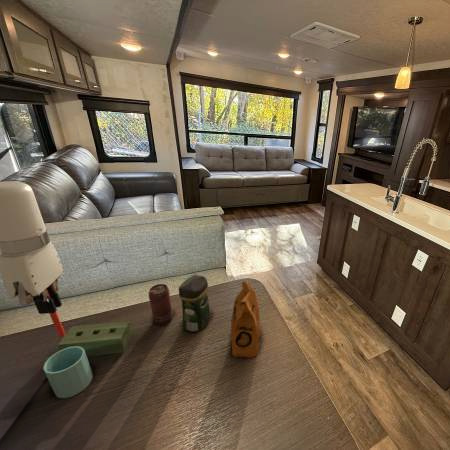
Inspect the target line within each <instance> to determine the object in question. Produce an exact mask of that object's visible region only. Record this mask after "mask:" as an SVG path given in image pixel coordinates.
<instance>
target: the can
mask: <svg viewBox="0 0 450 450" xmlns="http://www.w3.org/2000/svg"><path fill="white" fill-rule="evenodd" d="M169 288H170V287H169V286H168V285H167V284H164V283H158V284H155V285H153V286H151V287H150V289H149V292H148V299H149V303H150V308H151V314H152V318H153V323H154V324H155V325H157V326H165V325H168V324H169V323H170V322H171V321H172V319H173V318H174V314H173V307H172V301H171V296H170V295H171V294H170V293H171V292H170V289H169Z"/></svg>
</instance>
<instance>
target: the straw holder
mask: <svg viewBox="0 0 450 450" xmlns="http://www.w3.org/2000/svg"><path fill="white" fill-rule="evenodd" d="M131 326H132V325H131V322H130V320H127V321H117V322H116V321H115V322H105V323H95V324H83V325H74V326H73V325H72V326H71V327H70V328H69V330H68V331H67V333H65V336H63V337H62V339H61V340H60V341H59V342H58V343H57V347H58V349H59V351H60V350H62V349H65V348H68V347H74V346H78V347H82V348H83V349H84V350H85V353H86V356H87V358H88V357H96V356H104V355H113V354H120V353H125V352H126V349H127V348H128V345H129V344H130V341H131V339H132V336H133V335H134V334H133V330H132V327H131Z"/></svg>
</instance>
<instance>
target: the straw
mask: <svg viewBox="0 0 450 450" xmlns="http://www.w3.org/2000/svg"><path fill="white" fill-rule="evenodd" d="M46 291H47V293H48V290H47V289H46ZM48 295H49V293H48ZM49 298H51V297H50V295H49ZM57 312H58V311H56V312H55V313H48V314H49V315H50V319H51V321H52V324H53V326H54V328H55V330H56V333H57V335H58V337H59V338H63V337H64V336H65V335H66V332H65V329H64V327H63V325H62V323H61V320H60V316H59V315H58V313H57Z"/></svg>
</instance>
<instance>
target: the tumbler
mask: <svg viewBox="0 0 450 450" xmlns="http://www.w3.org/2000/svg"><path fill="white" fill-rule="evenodd" d="M42 370H43V372H44V374H45V377H46V378H47V381H48V383H49V385H50V387H51V389H52V392H53V393H54V395H55V396H56V398H58V399H68V398H71V397H74V396H76V395H78V394H79V393H81V392H83V391H84V390H85V389H86V388H87V387H88V386H89V385H90V384H91V382H92V380H93V377H94V374H93V369H92V367H91V365H90V362H89V359H88V357H87V356H86V353H85V350H84V349H83V348H82V347H78V346H74V347H68V348H65V349H62V350H60V349H59V351H56V352H55V353H53V354H52V355H51V356H50V357H48V358H47V359H46V361H45V362H44V364H43V367H42Z"/></svg>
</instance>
